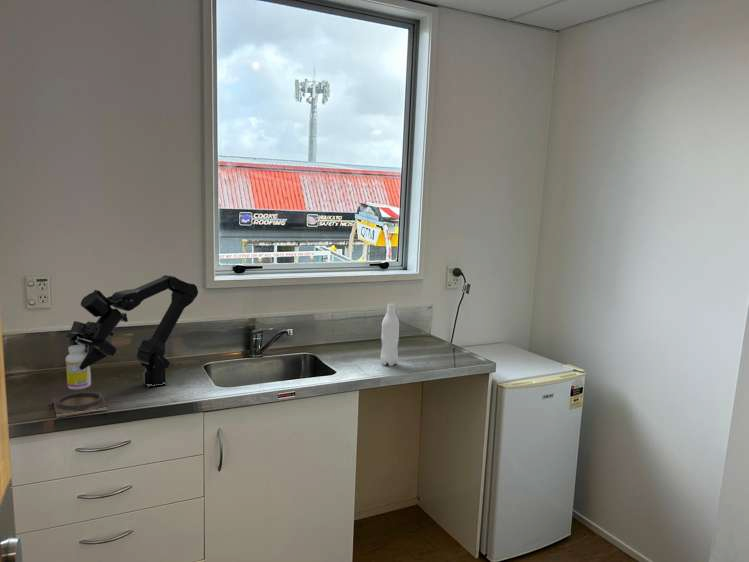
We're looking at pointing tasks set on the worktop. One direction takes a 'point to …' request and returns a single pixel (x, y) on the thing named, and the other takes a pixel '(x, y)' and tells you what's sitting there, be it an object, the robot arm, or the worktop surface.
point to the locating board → (79, 402)
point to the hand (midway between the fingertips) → (74, 367)
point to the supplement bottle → (77, 368)
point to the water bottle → (390, 336)
